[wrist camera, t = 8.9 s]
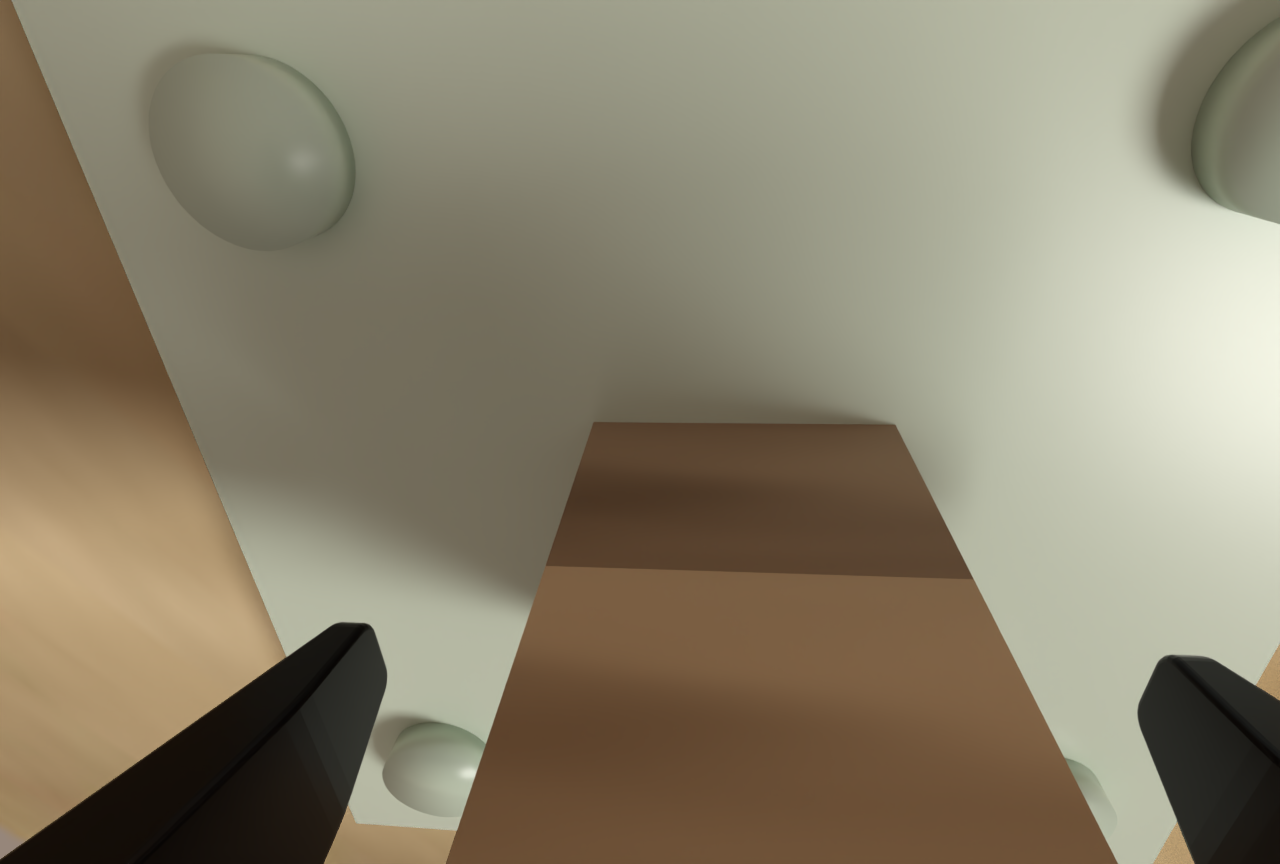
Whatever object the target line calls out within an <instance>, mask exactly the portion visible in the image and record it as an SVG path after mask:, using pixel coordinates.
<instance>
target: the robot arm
mask: <svg viewBox="0 0 1280 864" xmlns="http://www.w3.org/2000/svg"><path fill="white" fill-rule="evenodd" d="M386 685H387V668H386V665H385V661H384V658H383V655H382V652H381V649H380V646H379V643H378V640H377V637H376V634H375V631H374V629H373V627H372V626H371V625H369V624H367V623H356V622H339V623H335V624H333V625H331V626H330V627H328V628H327V629H325V630H324V631H323V632H321V633H320V634H318V635H317V636H316V637H314V638H313V639H311V640H310V641H308V642H307V643H306V644H304V645H303V646H301V647H300V648H299V649H297V650H296V651H294V652H293V653H291V654H290V655H289V656H287V657H286V658H284V659H283V660H282V661H280V662H279V663H277V664H276V665H275V666H273V667H272V668H270V669H269V670H267V671H266V672H265V673H263V674H262V675H260V676H259V677H258V678H256V679H255V680H253V681H252V682H250V683H249V684H248V685H246V686H245V687H243V688H242V689H241V690H239V691H238V692H236V693H235V694H233V695H232V696H231V697H229V698H228V699H226V700H225V701H224V702H222V703H221V704H219V705H218V706H217V707H215V708H214V709H212V710H211V711H209V712H208V713H207V714H205V715H204V716H202V717H201V718H200V719H198V720H197V721H195V722H194V723H192V724H191V725H190V726H188V727H187V728H185V729H184V730H183V731H181V732H180V733H178V734H177V735H175V736H174V737H173V738H171V739H170V740H168V741H167V742H166V743H164V744H163V745H161V746H160V747H159V748H157V749H156V750H154V751H153V752H151V753H150V754H149V755H147V756H146V757H144V758H143V759H142V760H140V761H139V762H137V763H136V764H134V765H133V766H132V767H130V768H129V769H127V770H126V771H125V772H123V773H122V774H120V775H119V776H117V777H116V778H115V779H113V780H112V781H110V782H109V783H108V784H106V785H105V786H103V787H102V788H101V789H99V790H98V791H96V792H95V793H93V794H92V795H91V796H89V797H88V798H86V799H85V800H84V801H82V802H81V803H79V804H78V805H76V806H75V807H74V808H72V809H71V810H69V811H68V812H67V813H65V814H64V815H62V816H61V817H59V818H58V819H57V820H55V821H54V822H52V823H51V824H50V825H48V826H47V827H45V828H44V829H42V830H41V831H40V832H38V833H37V834H35V835H34V836H33V837H31V838H30V839H28V840H27V841H25V842H24V843H23V844H21V845H20V846H18V847H17V848H16V849H14V850H13V851H11V852H10V853H8V854H7V855H6V856H4V857H3V858H1V859H0V864H324V861H325V859H326V857H327V855H328V852H329V850H330V848H331V845H332V843H333V841H334V839H335V836H336V834H337V831H338V829H339V827H340V824H341V822H342V819H343V817H344V814H345V812H346V809H347V806H348V803H349V800H350V797H351V795H352V792H353V789H354V786H355V782H356V779H357V776H358V773H359V770H360V767H361V764H362V761H363V758H364V755H365V752H366V749H367V745H368V742H369V739H370V736H371V733H372V730H373V727H374V724H375V721H376V718H377V715H378V712H379V708H380V705H381V702H382V699H383V696H384V693H385V690H386ZM1137 716H1138V722H1139V726H1140V729H1141V732H1142V735H1143V737H1144V740H1145V742H1146V745H1147V747H1148V750H1149V752H1150V755H1151V757H1152V760H1153V762H1154V765H1155V767H1156V770H1157V772H1158V775H1159V777H1160V780H1161V782H1162V785H1163V787H1164V790H1165V792H1166V795H1167V797H1168V799H1169V802H1170V804H1171V807H1172V809H1173V812H1174V814H1175V817H1176V819H1177V822H1178V824H1179V827H1180V829H1181V832H1182V834H1183V837H1184V839H1185V842H1186V844H1187V847H1188V849H1189V852H1190V854H1191V856H1192V859H1193V861H1194V863H1195V864H1280V701H1279V700H1278V699H1276V698H1275V697H1273V696H1272V695H1270V694H1268V693H1267V692H1265V691H1264V690H1262V689H1260V688H1259V687H1257V686H1256V685H1254V684H1252V683H1251V682H1249V681H1248V680H1246V679H1245V678H1243V677H1241V676H1240V675H1238V674H1237V673H1235V672H1233V671H1232V670H1230V669H1229V668H1227V667H1226V666H1224V665H1222V664H1221V663H1219V662H1217V661H1216V660H1214V659H1212V658H1209V657H1205V656H1197V655H1171V654H1170V655H1165V656H1164V657H1162V658H1161V659H1160V660H1159V661H1158V662H1157V664H1156V666H1155V668H1154V670H1153V673H1152V675H1151V677H1150V679H1149V681H1148V683H1147V686H1146V688H1145V690H1144V692H1143V694H1142V696H1141V699H1140V701H1139V704H1138V710H1137Z"/></svg>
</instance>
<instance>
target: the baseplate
mask: <svg viewBox="0 0 1280 864" xmlns="http://www.w3.org/2000/svg"><path fill="white" fill-rule="evenodd" d="M11 1H12V3H13V5H14V8H15V10H16V12H17V15H18V17H19V20H20V22H21V24H22V27H23V29H24V32H25V34H26V36H27V39H28V41H29V44H30V46H31V48H32V51H33V53H34V55H35V58H36V60H37V63H38V65H39V67H40V70H41V72H42V75H43V77H44V79H45V82H46V84H47V86H48V89H49V91H50V94H51V96H52V98H53V101H54V103H55V106H56V108H57V110H58V113H59V115H60V118H61V120H62V122H63V125H64V127H65V129H66V132H67V134H68V137H69V139H70V141H71V144H72V146H73V149H74V151H75V153H76V156H77V158H78V160H79V163H80V165H81V168H82V170H83V172H84V175H85V177H86V180H87V182H88V184H89V187H90V189H91V191H92V194H93V196H94V199H95V201H96V203H97V206H98V208H99V211H100V213H101V215H102V218H103V220H104V223H105V225H106V227H107V230H108V232H109V234H110V237H111V239H112V242H113V244H114V246H115V249H116V251H117V254H118V256H119V258H120V261H121V263H122V265H123V268H124V270H125V273H126V275H127V277H128V280H129V282H130V285H131V287H132V289H133V292H134V294H135V297H136V299H137V301H138V304H139V306H140V308H141V311H142V313H143V316H144V318H145V320H146V323H147V325H148V328H149V330H150V332H151V335H152V337H153V339H154V342H155V344H156V347H157V349H158V351H159V354H160V356H161V359H162V361H163V363H164V366H165V368H166V371H167V373H168V375H169V378H170V380H171V382H172V385H173V387H174V390H175V392H176V394H177V397H178V399H179V402H180V404H181V406H182V409H183V411H184V413H185V416H186V418H187V421H188V423H189V425H190V428H191V430H192V433H193V435H194V437H195V440H196V442H197V445H198V447H199V449H200V452H201V454H202V456H203V459H204V461H205V464H206V466H207V468H208V471H209V473H210V476H211V478H212V480H213V483H214V485H215V487H216V490H217V492H218V495H219V497H220V499H221V502H222V504H223V507H224V509H225V511H226V514H227V516H228V519H229V521H230V523H231V526H232V528H233V530H234V533H235V535H236V538H237V540H238V542H239V545H240V547H241V550H242V552H243V554H244V557H245V559H246V561H247V564H248V566H249V569H250V571H251V573H252V576H253V578H254V581H255V583H256V585H257V588H258V590H259V593H260V595H261V597H262V600H263V602H264V604H265V607H266V609H267V612H268V614H269V616H270V619H271V621H272V624H273V626H274V628H275V631H276V633H277V635H278V638H279V640H280V643H281V645H282V647H283V650H284V652H285V655H286V657H287V656H289V655H290V654H291V653H293V652H294V651H296V650H297V649H299V648H300V647H301V646H303V645H304V644H306V643H307V642H308V641H310V640H311V639H313V638H314V637H316V636H317V635H318V634H320V633H321V632H323V631H324V630H325V629H327V628H328V627H330V626H331V625H333V624H335V623H339V622H356V623H367V624H369V625H371V626H372V627H373V629H374V631H375V634H376V637H377V640H378V643H379V646H380V649H381V652H382V655H383V658H384V661H385V665H386V668H387V685H386V690H385V693H384V696H383V699H382V702H381V705H380V708H379V712H378V715H377V718H376V721H375V724H374V727H373V730H372V733H371V736H370V739H369V742H368V745H367V749H366V752H365V755H364V758H363V761H362V764H361V767H360V770H359V773H358V776H357V779H356V782H355V786H354V789H353V792H352V795H351V797H350V800H349V803H348V805H349V807H350V810H351V812H352V814H353V817H354V819H355V822H356V823H360V824H373V825H387V826H401V827H415V828H428V829H442V830H456V831H457V829H458V826H459V823H460V820H461V817H462V814H463V811H464V808H465V805H466V802H467V799H468V796H469V793H470V790H471V787H472V784H473V781H474V778H475V775H476V772H477V769H478V766H479V763H480V760H481V757H482V754H483V751H484V748H485V745H486V742H487V739H488V736H489V733H490V730H491V727H492V724H493V721H494V718H495V715H496V712H497V709H498V706H499V703H500V700H501V697H502V694H503V691H504V688H505V685H506V682H507V679H508V676H509V673H510V670H511V667H512V665H513V662H514V659H515V656H516V653H517V650H518V647H519V644H520V641H521V638H522V635H523V632H524V629H525V626H526V623H527V620H528V617H529V614H530V611H531V608H532V605H533V602H534V599H535V596H536V593H537V590H538V587H539V584H540V581H541V578H542V575H543V572H544V569H545V566H546V563H547V560H548V557H549V554H550V551H551V548H552V545H553V542H554V539H555V536H556V533H557V530H558V527H559V524H560V521H561V518H562V515H563V512H564V509H565V506H566V503H567V500H568V497H569V494H570V491H571V488H572V485H573V482H574V479H575V476H576V473H577V470H578V467H579V464H580V461H581V458H582V455H583V452H584V449H585V446H586V443H587V440H588V437H589V434H590V431H591V428H592V425H593V422H638V423H755V424H873V425H896V427H897V429H898V431H899V433H900V435H901V437H902V439H903V441H904V443H905V445H906V447H907V449H908V450H909V452H910V454H911V456H912V458H913V460H914V462H915V464H916V466H917V468H918V470H919V472H920V474H921V476H922V478H923V480H924V482H925V484H926V486H927V488H928V490H929V492H930V494H931V496H932V498H933V500H934V502H935V504H936V506H937V508H938V510H939V512H940V514H941V516H942V518H943V520H944V521H945V523H946V525H947V527H948V529H949V531H950V533H951V535H952V537H953V539H954V541H955V543H956V545H957V547H958V549H959V551H960V553H961V555H962V557H963V559H964V561H965V563H966V565H967V567H968V569H969V571H970V573H971V575H972V577H973V579H974V581H975V583H976V585H977V587H978V589H979V590H980V592H981V594H982V596H983V598H984V600H985V602H986V604H987V606H988V608H989V610H990V612H991V614H992V616H993V618H994V620H995V622H996V624H997V626H998V628H999V630H1000V632H1001V634H1002V636H1003V638H1004V640H1005V642H1006V644H1007V646H1008V648H1009V650H1010V652H1011V654H1012V656H1013V658H1014V660H1015V661H1016V663H1017V665H1018V667H1019V669H1020V671H1021V673H1022V675H1023V677H1024V679H1025V681H1026V683H1027V685H1028V687H1029V689H1030V691H1031V693H1032V695H1033V697H1034V699H1035V701H1036V703H1037V705H1038V707H1039V709H1040V711H1041V713H1042V715H1043V717H1044V719H1045V721H1046V723H1047V725H1048V727H1049V729H1050V730H1051V732H1052V734H1053V736H1054V738H1055V740H1056V742H1057V744H1058V746H1059V748H1060V750H1061V752H1062V754H1063V756H1064V758H1065V760H1066V762H1067V764H1068V766H1069V768H1070V770H1071V772H1072V774H1073V776H1074V778H1075V780H1076V782H1077V784H1078V786H1079V788H1080V790H1081V792H1082V794H1083V796H1084V798H1085V800H1086V801H1087V803H1088V805H1089V807H1090V809H1091V811H1092V813H1093V815H1094V817H1095V819H1096V821H1097V823H1098V825H1099V827H1100V829H1101V831H1102V833H1103V835H1104V837H1105V839H1106V841H1107V843H1108V845H1109V847H1110V849H1111V851H1112V853H1113V855H1114V857H1115V859H1116V861H1117V863H1118V864H1153V862H1154V861H1155V859H1156V857H1157V855H1158V854H1159V852H1160V850H1161V849H1162V847H1163V845H1164V843H1165V842H1166V840H1167V838H1168V836H1169V835H1170V833H1171V831H1172V829H1173V828H1174V826H1175V824H1176V822H1177V819H1176V817H1175V814H1174V812H1173V809H1172V807H1171V804H1170V802H1169V799H1168V797H1167V795H1166V792H1165V790H1164V787H1163V785H1162V782H1161V780H1160V777H1159V775H1158V772H1157V770H1156V767H1155V765H1154V762H1153V760H1152V757H1151V755H1150V752H1149V750H1148V747H1147V745H1146V742H1145V740H1144V737H1143V735H1142V732H1141V729H1140V726H1139V722H1138V716H1137V710H1138V704H1139V701H1140V699H1141V696H1142V694H1143V692H1144V690H1145V688H1146V686H1147V683H1148V681H1149V679H1150V677H1151V675H1152V673H1153V670H1154V668H1155V666H1156V664H1157V662H1158V661H1159V660H1160V659H1161V658H1162V657H1164V656H1165V655H1170V654H1171V655H1197V656H1205V657H1209V658H1212V659H1214V660H1216V661H1217V662H1219V663H1221V664H1222V665H1224V666H1226V667H1227V668H1229V669H1230V670H1232V671H1233V672H1235V673H1237V674H1238V675H1240V676H1241V677H1243V678H1245V679H1246V680H1248V681H1249V682H1251V683H1252V684H1254V685H1256V684H1257V682H1258V680H1259V678H1260V677H1261V675H1262V673H1263V672H1264V670H1265V668H1266V666H1267V665H1268V663H1269V661H1270V659H1271V658H1272V656H1273V654H1274V652H1275V651H1276V649H1277V647H1278V645H1279V644H1280V0H11Z"/></svg>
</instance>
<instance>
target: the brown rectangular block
mask: <svg viewBox="0 0 1280 864" xmlns="http://www.w3.org/2000/svg"><path fill="white" fill-rule="evenodd" d="M446 864H1118V863H1117V861H1116V859H1115V857H1114V855H1113V853H1112V851H1111V849H1110V847H1109V845H1108V843H1107V841H1106V839H1105V837H1104V835H1103V833H1102V831H1101V829H1100V827H1099V825H1098V823H1097V821H1096V819H1095V817H1094V815H1093V813H1092V811H1091V809H1090V807H1089V805H1088V803H1087V801H1086V800H1085V798H1084V796H1083V794H1082V792H1081V790H1080V788H1079V786H1078V784H1077V782H1076V780H1075V778H1074V776H1073V774H1072V772H1071V770H1070V768H1069V766H1068V764H1067V762H1066V760H1065V758H1064V756H1063V754H1062V752H1061V750H1060V748H1059V746H1058V744H1057V742H1056V740H1055V738H1054V736H1053V734H1052V732H1051V730H1050V729H1049V727H1048V725H1047V723H1046V721H1045V719H1044V717H1043V715H1042V713H1041V711H1040V709H1039V707H1038V705H1037V703H1036V701H1035V699H1034V697H1033V695H1032V693H1031V691H1030V689H1029V687H1028V685H1027V683H1026V681H1025V679H1024V677H1023V675H1022V673H1021V671H1020V669H1019V667H1018V665H1017V663H1016V661H1015V660H1014V658H1013V656H1012V654H1011V652H1010V650H1009V648H1008V646H1007V644H1006V642H1005V640H1004V638H1003V636H1002V634H1001V632H1000V630H999V628H998V626H997V624H996V622H995V620H994V618H993V616H992V614H991V612H990V610H989V608H988V606H987V604H986V602H985V600H984V598H983V596H982V594H981V592H980V590H979V589H978V587H977V585H976V583H975V581H974V579H973V577H972V575H971V573H970V571H969V569H968V567H967V565H966V563H965V561H964V559H963V557H962V555H961V553H960V551H959V549H958V547H957V545H956V543H955V541H954V539H953V537H952V535H951V533H950V531H949V529H948V527H947V525H946V523H945V521H944V520H943V518H942V516H941V514H940V512H939V510H938V508H937V506H936V504H935V502H934V500H933V498H932V496H931V494H930V492H929V490H928V488H927V486H926V484H925V482H924V480H923V478H922V476H921V474H920V472H919V470H918V468H917V466H916V464H915V462H914V460H913V458H912V456H911V454H910V452H909V450H908V449H907V447H906V445H905V443H904V441H903V439H902V437H901V435H900V433H899V431H898V429H897V427H896V425H873V424H755V423H638V422H593V425H592V428H591V431H590V434H589V437H588V440H587V443H586V446H585V449H584V452H583V455H582V458H581V461H580V464H579V467H578V470H577V473H576V476H575V479H574V482H573V485H572V488H571V491H570V494H569V497H568V500H567V503H566V506H565V509H564V512H563V515H562V518H561V521H560V524H559V527H558V530H557V533H556V536H555V539H554V542H553V545H552V548H551V551H550V554H549V557H548V560H547V563H546V566H545V569H544V572H543V575H542V578H541V581H540V584H539V587H538V590H537V593H536V596H535V599H534V602H533V605H532V608H531V611H530V614H529V617H528V620H527V623H526V626H525V629H524V632H523V635H522V638H521V641H520V644H519V647H518V650H517V653H516V656H515V659H514V662H513V665H512V667H511V670H510V673H509V676H508V679H507V682H506V685H505V688H504V691H503V694H502V697H501V700H500V703H499V706H498V709H497V712H496V715H495V718H494V721H493V724H492V727H491V730H490V733H489V736H488V739H487V742H486V745H485V748H484V751H483V754H482V757H481V760H480V763H479V766H478V769H477V772H476V775H475V778H474V781H473V784H472V787H471V790H470V793H469V796H468V799H467V802H466V805H465V808H464V811H463V814H462V817H461V820H460V823H459V826H458V829H457V832H456V835H455V838H454V841H453V844H452V847H451V850H450V853H449V856H448V859H447V862H446Z"/></svg>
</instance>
